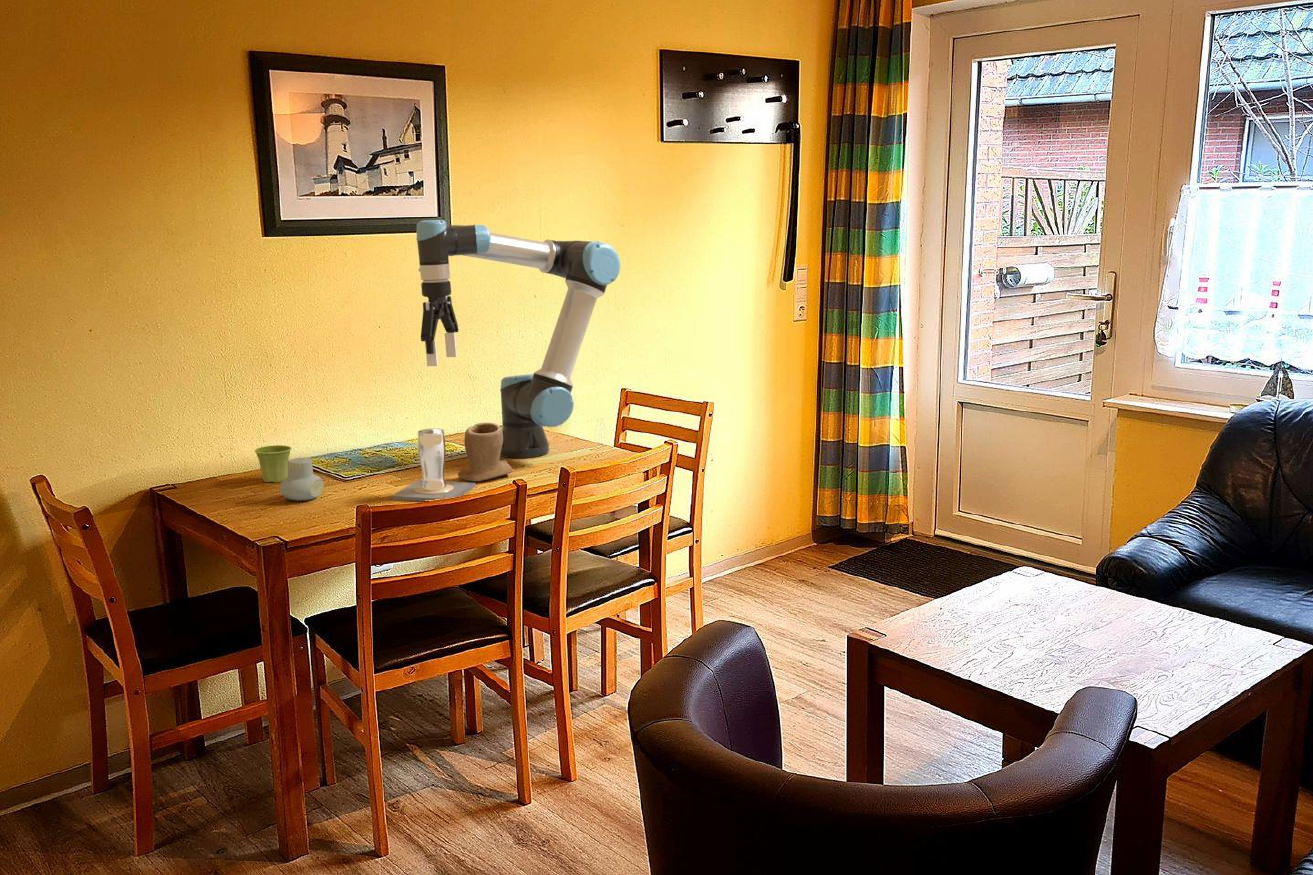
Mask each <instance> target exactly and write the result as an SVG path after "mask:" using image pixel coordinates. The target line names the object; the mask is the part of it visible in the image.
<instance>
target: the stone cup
mask: <svg viewBox="0 0 1313 875" xmlns="http://www.w3.org/2000/svg"><path fill="white" fill-rule="evenodd" d="M463 441H464V448H465V449H464V450H465V453H466V455H467V458H468V463H469V467H468V468H465V469H462V470H459V471H458V472H457V476H458V477H459V478H460V479H462V480H465V481H469V482H470V481H471V482H481V481H485V480H490V479H494V478H497V477H498V478H499V477H501V476H505V475H508V474H511V473H513V471H514V470H513V467H512V466H510V464H509V463H508V461H507V460H506V459H500V458H501V456H500V453H501V448H502V445H503V432H502V427H501V426H500V424H497V423H494V422H479V423H476V424H474V425H473V426H468V427H467V429H466V430H465V433H464V440H463Z"/></svg>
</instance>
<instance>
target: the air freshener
mask: <svg viewBox="0 0 1313 875" xmlns="http://www.w3.org/2000/svg"><path fill="white" fill-rule="evenodd" d="M313 468H314V467H313V459H311V458H310V457H295V458H291V459H289V461H288V477H287V478H285V479H284V480H283V481H282V482H281V483H280V486H279V493H280V494H281V496H283V497H284V498H285V499H288V500H290V501H296V502H301V501H302V502H303V501H304V502H305V501H311V500H314V499H316V498H317V497H319V496H320V495H321V493H322V492H323V490H324V487H325V486H324V484H325V483H324V480H323V479H322V478H321V477H320V476H319V475H316V474H314V469H313Z"/></svg>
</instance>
